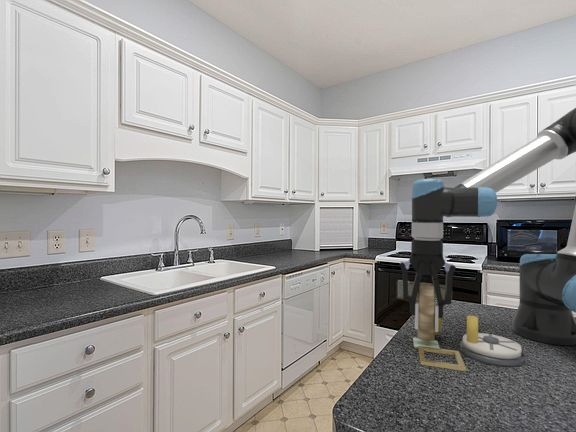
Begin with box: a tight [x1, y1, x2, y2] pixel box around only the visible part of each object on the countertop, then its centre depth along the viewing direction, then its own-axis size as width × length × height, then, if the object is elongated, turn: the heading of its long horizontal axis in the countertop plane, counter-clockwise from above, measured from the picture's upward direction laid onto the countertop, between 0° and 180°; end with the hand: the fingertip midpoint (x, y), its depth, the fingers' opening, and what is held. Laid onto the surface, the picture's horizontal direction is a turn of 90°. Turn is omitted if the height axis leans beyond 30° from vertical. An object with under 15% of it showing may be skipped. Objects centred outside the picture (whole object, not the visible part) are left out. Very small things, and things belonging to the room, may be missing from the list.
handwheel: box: [462, 314, 522, 359], centre depth 77 cm, size 12×12×8 cm
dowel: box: [417, 282, 436, 341], centre depth 82 cm, size 4×4×14 cm
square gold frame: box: [417, 346, 467, 372], centre depth 74 cm, size 9×9×1 cm
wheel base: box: [460, 340, 525, 368], centre depth 77 cm, size 13×13×1 cm
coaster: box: [412, 337, 441, 349], centre depth 82 cm, size 6×6×1 cm
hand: (426, 328), depth 82 cm, fingers closed on dowel, 4 cm apart
